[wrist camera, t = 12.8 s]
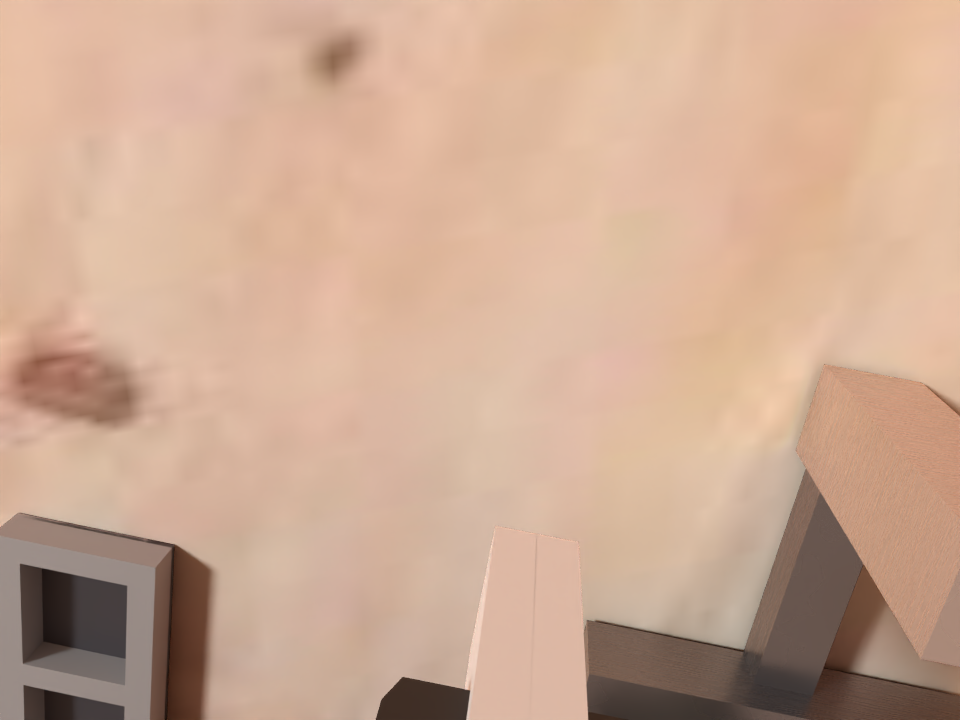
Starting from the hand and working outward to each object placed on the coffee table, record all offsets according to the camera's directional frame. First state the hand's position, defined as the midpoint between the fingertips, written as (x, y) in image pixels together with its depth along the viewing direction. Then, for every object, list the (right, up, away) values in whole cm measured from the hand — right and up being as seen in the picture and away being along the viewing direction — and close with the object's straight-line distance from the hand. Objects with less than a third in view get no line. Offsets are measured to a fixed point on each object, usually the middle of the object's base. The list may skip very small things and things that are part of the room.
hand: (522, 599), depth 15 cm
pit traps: (-16, -7, +18) cm, 25 cm away
